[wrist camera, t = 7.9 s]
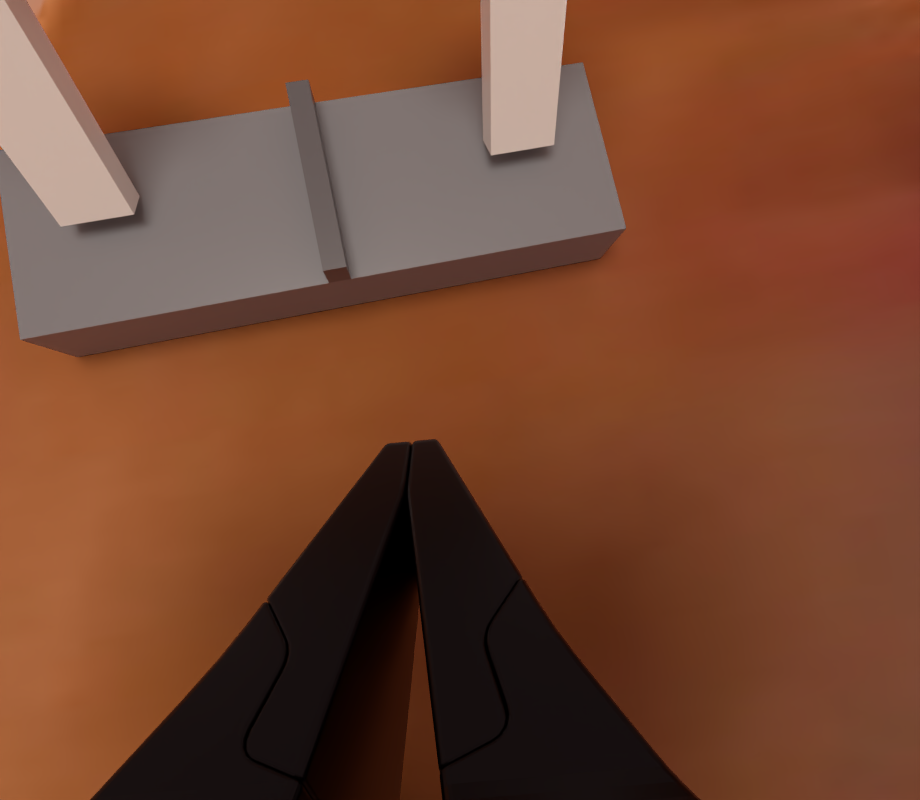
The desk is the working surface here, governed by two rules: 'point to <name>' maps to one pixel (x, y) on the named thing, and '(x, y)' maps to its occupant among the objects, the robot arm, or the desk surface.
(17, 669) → the desk surface
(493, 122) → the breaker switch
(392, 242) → the grey ridged base plate
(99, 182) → the switch
